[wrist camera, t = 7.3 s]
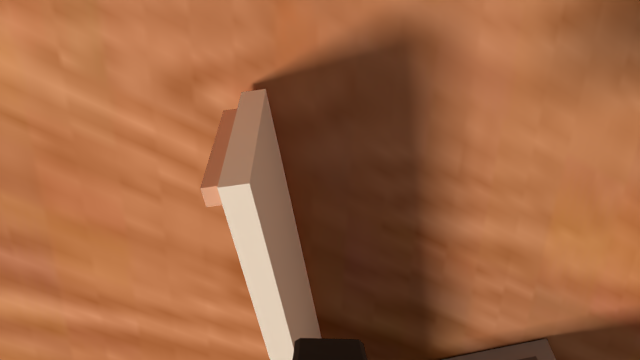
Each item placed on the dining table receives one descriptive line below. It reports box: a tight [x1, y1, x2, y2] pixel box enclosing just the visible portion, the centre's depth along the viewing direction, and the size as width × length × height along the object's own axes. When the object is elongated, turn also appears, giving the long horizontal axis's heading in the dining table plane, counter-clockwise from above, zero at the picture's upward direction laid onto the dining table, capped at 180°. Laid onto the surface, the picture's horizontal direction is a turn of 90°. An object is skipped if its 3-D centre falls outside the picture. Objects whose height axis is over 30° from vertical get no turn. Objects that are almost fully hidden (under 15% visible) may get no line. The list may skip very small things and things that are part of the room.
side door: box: [200, 89, 321, 360], centre depth 20 cm, size 15×1×6 cm, turn 9°
